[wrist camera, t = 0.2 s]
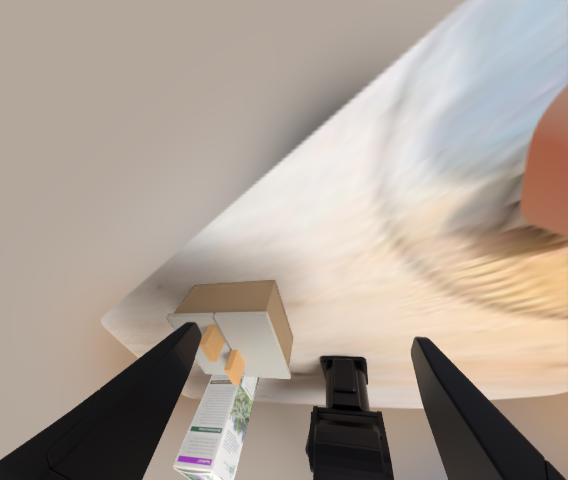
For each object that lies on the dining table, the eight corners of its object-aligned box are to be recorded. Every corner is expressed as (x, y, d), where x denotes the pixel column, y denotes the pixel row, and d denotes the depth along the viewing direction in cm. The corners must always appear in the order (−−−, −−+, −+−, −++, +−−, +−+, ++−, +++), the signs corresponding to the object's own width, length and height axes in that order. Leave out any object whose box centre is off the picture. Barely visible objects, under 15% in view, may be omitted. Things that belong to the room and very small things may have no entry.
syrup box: (220, 350, 37) (167, 469, 25) (251, 349, 35) (210, 476, 23) (234, 369, 40) (192, 485, 27) (263, 369, 38) (232, 493, 26)
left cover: (245, 372, 29) (238, 396, 27) (207, 370, 30) (196, 393, 28) (213, 312, 24) (200, 336, 21) (168, 313, 25) (151, 335, 23)
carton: (293, 337, 32) (287, 372, 27) (223, 336, 35) (209, 367, 30) (275, 280, 27) (265, 312, 22) (195, 285, 30) (173, 314, 25)
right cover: (290, 375, 27) (287, 401, 25) (247, 372, 29) (240, 397, 26) (267, 311, 22) (259, 336, 19) (215, 312, 23) (202, 336, 21)
